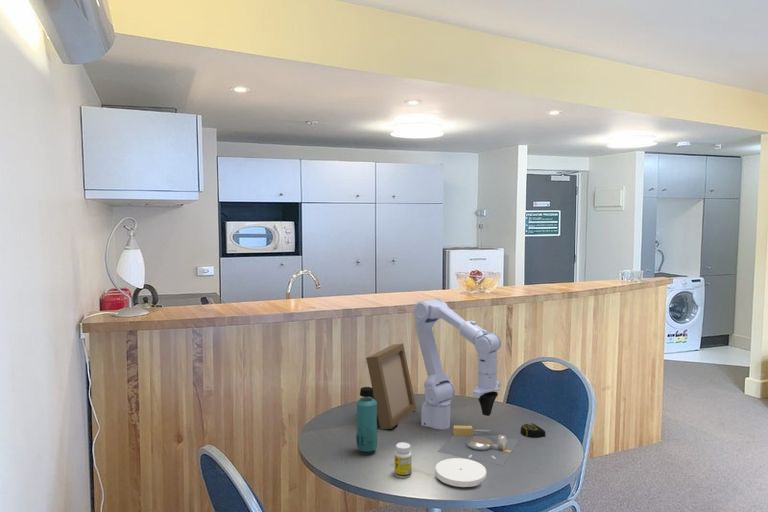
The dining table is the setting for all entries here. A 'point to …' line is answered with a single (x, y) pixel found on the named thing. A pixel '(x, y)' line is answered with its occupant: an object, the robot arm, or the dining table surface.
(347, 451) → the dining table surface
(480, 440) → the silver rounded piece
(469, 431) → the screwdriver
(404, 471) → the supplement bottle
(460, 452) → the panel
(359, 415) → the beverage bottle
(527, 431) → the tape measure
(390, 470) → the dining table surface
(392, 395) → the photo frame
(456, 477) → the plastic lid
